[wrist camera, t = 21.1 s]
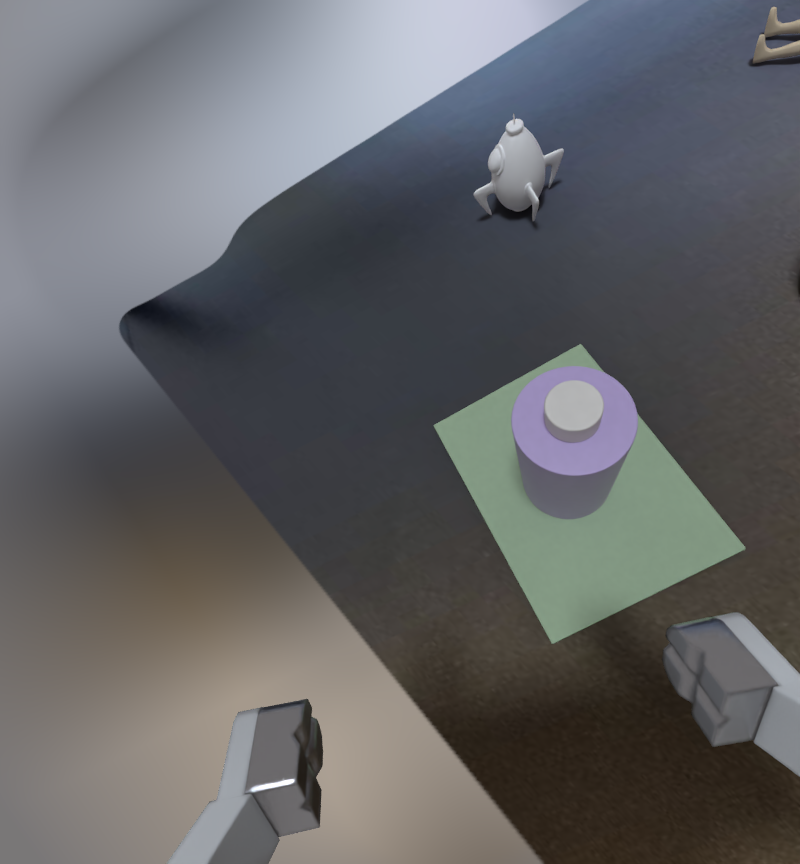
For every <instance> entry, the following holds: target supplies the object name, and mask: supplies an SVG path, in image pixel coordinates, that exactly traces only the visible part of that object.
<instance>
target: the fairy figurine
mask: <svg viewBox="0 0 800 864" xmlns="http://www.w3.org/2000/svg"><path fill="white" fill-rule="evenodd" d="M798 33H800V19H799V20H796V21H794V22H790V23H781V22H779V21H778V20H777V8H776V7H772V8H771V10H770V14H769V17H768V21H767V24H766V28H765V32H764V34H761V35H760V36H759V39H758V42H757V46H756V50H755V54H754V58H753V63H760V62H763V61H767V60H771V59H776V58H786V57H792V56H797V55H800V41H797V42H794V43H791V44H788V45H786V46H783V47H781V48H776V49H770V48H768V47H767V46H766V43H765V37H771V36H775V35H780V34H798Z"/></svg>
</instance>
